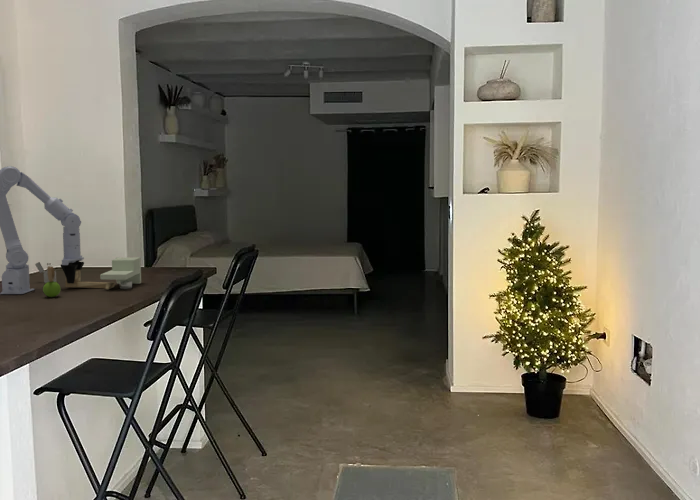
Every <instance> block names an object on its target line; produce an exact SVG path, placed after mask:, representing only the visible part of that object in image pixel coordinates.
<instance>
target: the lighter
mask: <svg viewBox="0 0 700 500" xmlns="http://www.w3.org/2000/svg"><path fill="white" fill-rule="evenodd" d="M34 265H35V266H36V268H37V270H38V272H39V273H40V274H42V273H43V283H44V284H46V283H47V282H49V280H48V270H47V269H46V271H45V269H44V268H43V266H42V263H41V262H40V261H38V262H36V263H34ZM54 282H57V271H56V270H55V276H54Z"/></svg>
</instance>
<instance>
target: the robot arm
mask: <svg viewBox="0 0 700 500" xmlns="http://www.w3.org/2000/svg"><path fill="white" fill-rule="evenodd" d="M15 185H16V186H17V187H21V188H24V189H26V190H28V192H30V193H31V195H33V196H34V197H36V198H37V199H38V200H40V202H42V203H43V204H44V206H43V207H44V209H45V210H46V212H48V213H49V214H50V215H51V216H52V217H54V218H55V220H57V221H58V222H59V221H60V224H61V225H62V226H63V228H62V229H63V230H62V231H63V233H62V245H63V248H62V249H63V250H62V251H63V258H62V259H61V264H60V268H61V270H62V272H63V273H64V276H66V280H67V283H74V281H75V272H76V270H81V271H82V268H83V266H84V264H85V262H84V261H83V260H84V259H85V257H83V255H81V233H80V226H81V224H82V220H81V219H80V217H79V215H78V214H77V213H74V212H73V211H74V209H72V208H69V207H68V205H66V204H65V203H63V202H64V200H63V199H62V198H58V197H52V196H50V195H49V194H48V193H47V192H46V191H45V190H44V189H43V188H41V187H40V185H38V183H36V182H35V180H33V179H32V178H31V177H29V176H28V175H27V174H25V173H24V172H22V171H20V170H19V168H17V167H15V166H12V165H9V166H4V167H2V168H1V169H0V232H1V235H2V238H3V240H4V244H5V249H6V253H5V259H6V261H7V262H8V263H7V264H6V265H5V271H3V272H2V275H1V287H2V288H1V289H2V290H1V292H0V295H24V294H26V293H30V292H32V291H35V288H30V287H31V286H30V285H31V284H30V265H29V264H28V261H29V255H28V252H26V251H25V249H24V247H23V245H22V242H21V240H20V237H19V234H18V230H17V228H16V225H15V221H14V219H13V214H12V212H11V208H10V206H9V201H8V200H7V196H6V195H7V194H8V193H9V192H10V190H11V188H13V187H14V186H15Z"/></svg>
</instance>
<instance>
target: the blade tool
mask: <svg viewBox="0 0 700 500" xmlns="http://www.w3.org/2000/svg"><path fill="white" fill-rule="evenodd" d="M81 271H82V269H81V270H76V272H75V281H74V283H67V280H66V276H65V275H64V276H65V282H64V284H65V285H64V286H65V288H87V289H88V288H89V289H90V288H91V289H105V290H111V289H112V288H115V284H116V283H115V281H110V282H105V281H103V282H102V281H85V280H84V281H83V280H82V281H81V276H82V275H81V273H82V272H81Z"/></svg>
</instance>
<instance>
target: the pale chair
mask: <svg viewBox="0 0 700 500" xmlns="http://www.w3.org/2000/svg"><path fill="white" fill-rule="evenodd" d="M141 258H142V257H120V256H119V257H115V259H111V270H108V271H105V272H103V273H101V274H100V277H99V278H100V280H115V281H116V284H118V285H120V284H119V282H120V281H132V285H133V284H136V285H137V284H142V265H141V264H142V262H141V261H142V259H141Z"/></svg>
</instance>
